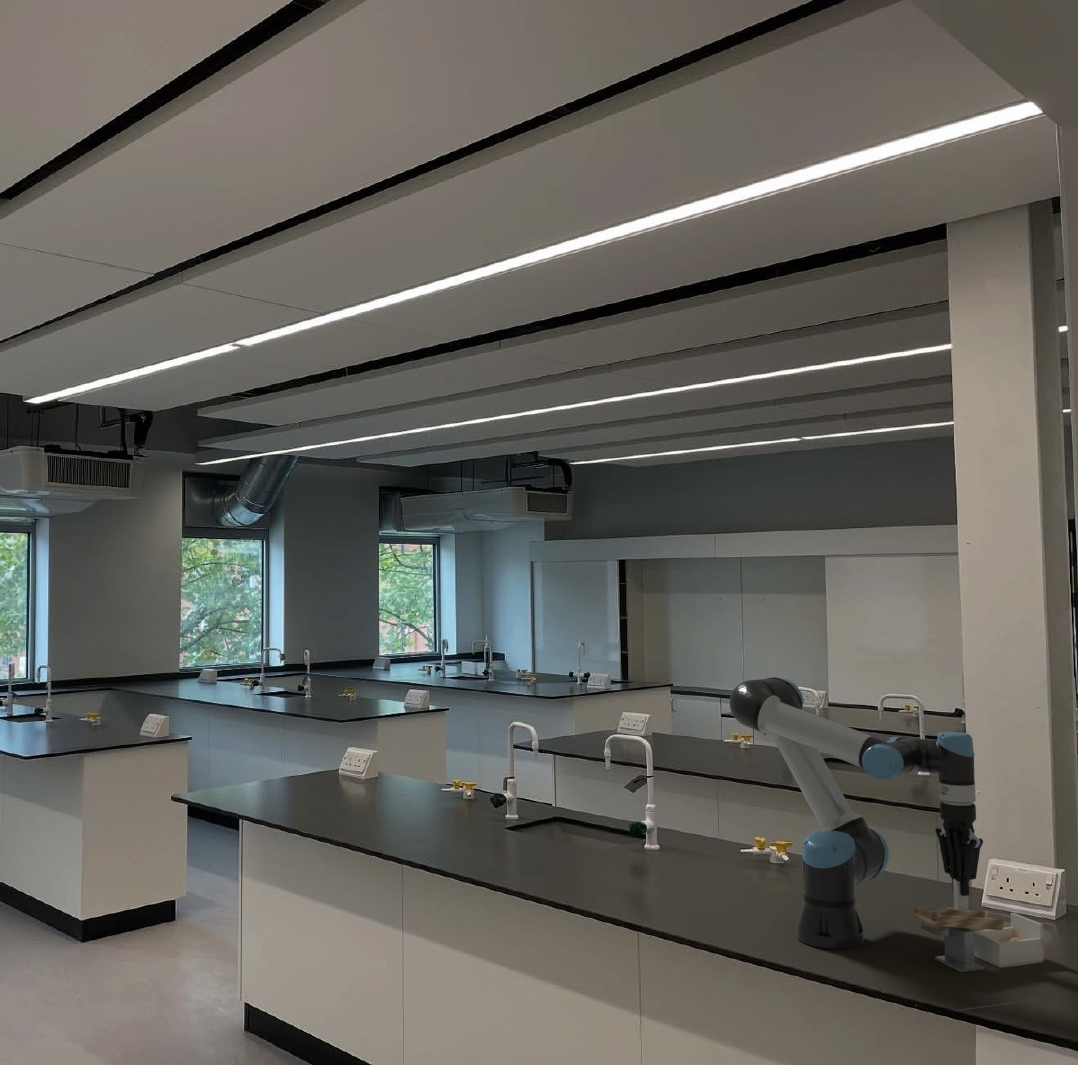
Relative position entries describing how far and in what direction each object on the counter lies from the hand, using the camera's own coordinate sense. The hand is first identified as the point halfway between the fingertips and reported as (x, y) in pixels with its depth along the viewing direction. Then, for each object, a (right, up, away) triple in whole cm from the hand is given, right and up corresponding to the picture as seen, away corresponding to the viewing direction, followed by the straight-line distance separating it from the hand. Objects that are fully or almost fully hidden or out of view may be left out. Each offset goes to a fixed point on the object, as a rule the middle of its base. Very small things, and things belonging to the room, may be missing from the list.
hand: (961, 908), depth 229 cm
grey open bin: (+8, -9, -6) cm, 13 cm away
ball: (+10, -6, -5) cm, 13 cm away
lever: (-6, -2, -6) cm, 8 cm away
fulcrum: (-4, -8, -10) cm, 13 cm away
